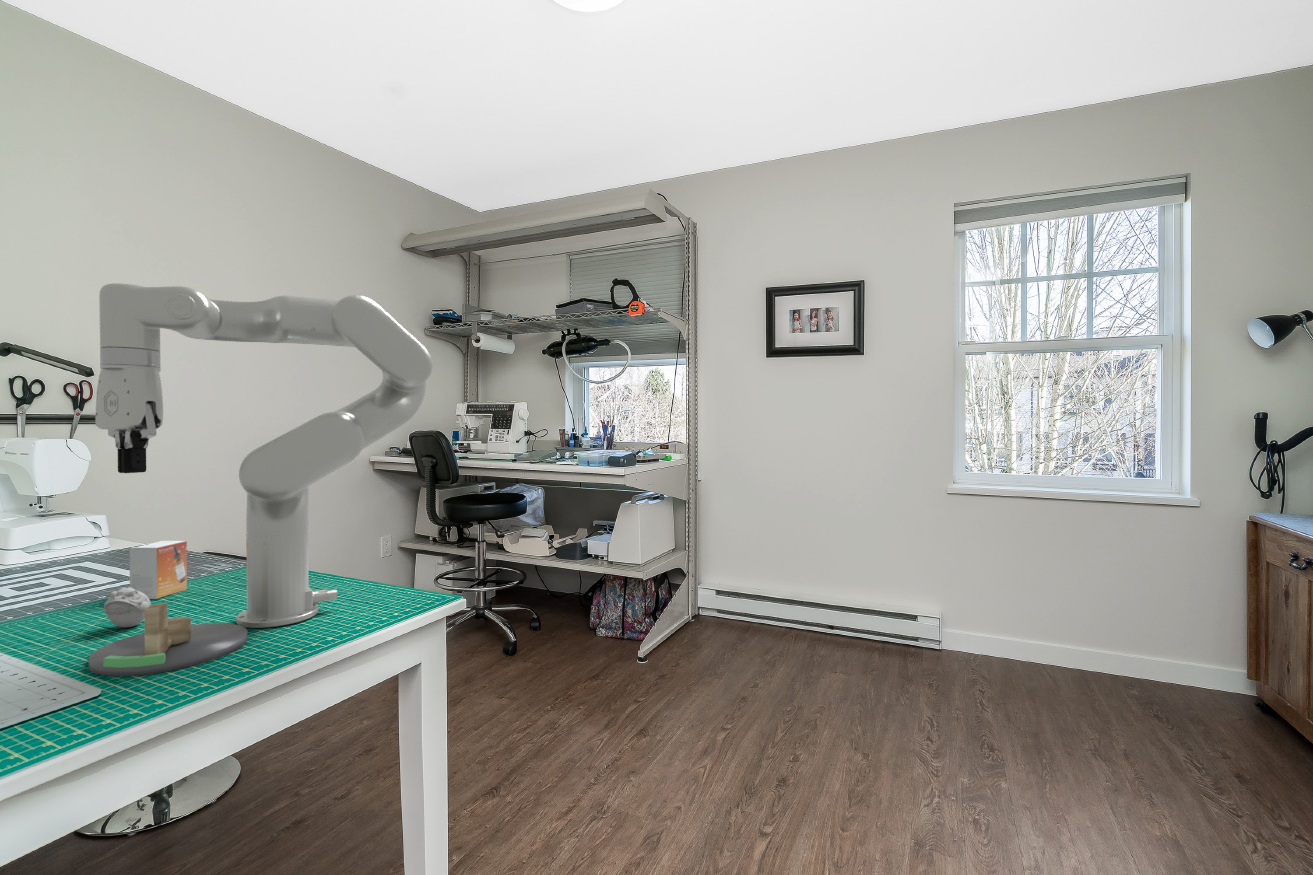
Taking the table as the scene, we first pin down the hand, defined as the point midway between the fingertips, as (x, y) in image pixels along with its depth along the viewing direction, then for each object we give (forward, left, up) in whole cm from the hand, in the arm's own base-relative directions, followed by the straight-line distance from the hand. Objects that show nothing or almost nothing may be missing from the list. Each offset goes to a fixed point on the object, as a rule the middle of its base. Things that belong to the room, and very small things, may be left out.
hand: (132, 472), depth 100 cm
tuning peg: (-4, +16, -25) cm, 30 cm away
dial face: (-5, +13, -27) cm, 30 cm away
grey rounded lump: (+1, -6, -27) cm, 28 cm away
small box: (-3, -29, -27) cm, 40 cm away
